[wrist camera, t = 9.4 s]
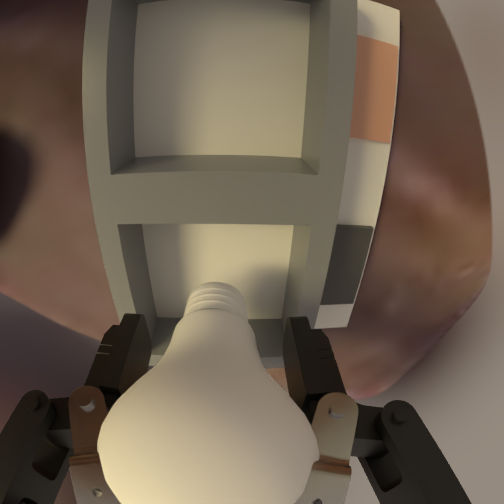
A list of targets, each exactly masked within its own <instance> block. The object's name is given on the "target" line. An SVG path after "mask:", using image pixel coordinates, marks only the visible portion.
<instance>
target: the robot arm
mask: <svg viewBox="0 0 504 504" xmlns="http://www.w3.org/2000/svg"><path fill="white" fill-rule="evenodd" d="M282 350H283V361H284V367H285V373H286V379H287V385H288V391H289V396H290V397H291V398H292V400H293V401H294V402H295V403H296V404H297V406H298V407H299V408H300V409H301V410H302V412H303V413H304V414H305V415H306V417H307V419H308V421H309V423H310V425H311V428H312V430H313V432H314V434H315V436H316V439H317V444H318V450H319V455H320V456H319V460H318V461H315V462H314V463H313V465H312V468H311V472H310V475H309V478H308V481H307V484H306V486H305V489H304V492H303V493H302V495H301V496H300V497H299V498H298V500H297V501H296V502H295V503H294V504H311V503H313V504H344V502H345V498H346V494H347V490H348V486H349V482H350V478H351V467H350V466H349V460H350V456H356V457H358V459H359V461H360V463H361V465H362V467H363V469H364V471H365V473H366V475H367V477H368V479H369V482H370V484H371V486H372V487H373V490H374V492H375V494H376V496H377V498H378V500H379V502H380V504H471V502H470V500H469V498H468V497H467V495H466V493H465V491H464V490H463V488H462V486H461V484H460V482H459V481H458V479H457V477H456V476H455V474H454V472H453V470H452V469H451V467H450V465H449V464H448V462H447V460H446V459H445V457H444V455H443V454H442V452H441V450H440V449H439V447H438V445H437V444H436V442H435V441H434V439H433V438H432V436H431V434H430V433H429V431H428V429H427V428H426V426H425V425H424V423H423V421H422V420H421V418H420V417H419V415H418V414H417V412H416V410H415V409H414V408H413V406H411V405H410V404H409V403H407V402H405V401H401V400H394V401H391V402H389V403H387V404H386V405H385V406H384V408H381V407H372V406H365V405H361V404H358V403H356V402H355V401H354V399H353V398H351V397H350V396H348V395H347V393H346V391H345V388H344V385H343V382H342V379H341V376H340V372H339V369H338V366H337V363H336V360H335V359H334V354H333V351H332V348H331V345H330V342H329V339H328V337H327V336H326V335H325V334H324V333H323V332H322V330H321V329H311V327H310V324H309V320H308V318H307V316H298V317H287V321H286V327H285V333H284V339H283V349H282ZM151 352H152V344H151V339H150V335H149V331H148V327H147V323H146V319H145V316H144V315H143V314H133V313H125V314H124V316H123V318H122V320H121V323H120V325H113V326H112V327H111V328H110V329H109V330H108V331H107V332H106V333H105V334H104V337H103V339H102V341H101V346H99V349H98V351H97V354H96V356H95V359H94V362H93V364H92V367H91V370H90V372H89V375H88V378H87V380H86V383H85V385H84V386H82V387H80V388H77V389H76V390H75V391H74V392H73V393H72V394H71V396H70V397H67V398H55V399H49V398H48V397H47V396H46V394H45V393H44V392H42V391H39V390H33V391H29V392H27V393H26V394H25V395H24V396H23V397H22V399H21V400H20V402H19V403H18V405H17V407H16V408H15V410H14V412H13V413H12V415H11V416H10V418H9V420H8V422H7V423H6V425H5V427H4V428H3V430H2V432H1V434H0V504H54V501H55V499H56V497H57V494H58V492H59V489H60V487H61V485H62V482H63V480H64V478H65V476H66V473H67V471H68V469H69V468H70V473H71V478H72V483H73V488H74V492H75V497H76V501H77V504H121V503H120V502H119V500H118V499H117V497H116V496H115V494H114V493H113V491H112V490H111V488H110V487H109V485H108V484H107V482H106V480H105V477H104V473H103V469H102V465H101V461H100V456H99V453H98V452H97V441H98V437H99V433H100V429H101V426H102V423H103V422H104V420H105V418H106V417H107V415H108V413H109V411H110V410H111V408H112V406H113V405H114V404H115V402H116V401H117V400H118V399H119V398H120V397H121V396H122V395H123V394H124V393H125V392H126V391H127V390H128V389H129V388H130V387H131V386H132V385H133V384H134V383H135V382H136V381H137V380H138V379H140V378H141V377H142V376H143V375H145V374H146V373H147V370H148V366H149V362H150V358H151Z"/></svg>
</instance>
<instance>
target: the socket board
mask: <svg viewBox="0 0 504 504" xmlns="http://www.w3.org/2000/svg"><path fill="white" fill-rule="evenodd" d="M399 40H400V16H399V10H397V9H394V8H391V7H388V6H385V5H382V4H379V3H376V2H373V1H370V0H88V7H87V15H86V24H85V34H84V47H83V69H82V106H83V129H84V143H85V154H86V164H87V173H88V181H89V188H90V195H91V202H92V208H93V214H94V219H95V225H96V230H97V235H98V240H99V245H100V249H101V254H102V258H103V262H104V266H105V270H106V274H107V278H108V282H109V286H110V290H111V293H112V297H113V300H114V304H115V307H116V310H117V314H118V317H119V320H120V323H121V320H122V318H123V316H124V314H125V313H133V314H143V315H144V316H145V319H146V323H147V327H148V331H149V335H150V339H151V344H152V352H151V358H150V362H149V365H150V366H156V365H157V363H158V362H159V361H160V360H161V358H162V357H163V356H164V354H165V352H166V350H167V348H168V346H169V344H170V342H171V339H172V336H173V332H174V330H175V327H176V325H177V324H178V322H179V321H180V320H181V319H182V318H183V315H184V313H185V308H186V306H187V301H188V299H189V297H190V294H191V293H192V291H193V290H194V289H195V288H197V287H198V286H200V285H202V284H205V283H209V282H222V283H226V284H229V285H231V286H233V287H235V288H236V289H237V290H239V291H240V293H241V294H242V295H243V297H244V299H245V304H246V309H247V316H248V323H249V324H250V326H251V328H252V330H253V331H254V334H255V338H256V344H257V349H258V352H259V355H260V358H261V361H262V364H263V365H264V367H265V368H285V367H284V361H283V350H282V349H283V339H284V333H285V327H286V321H287V317H298V316H307V318H308V320H309V324H310V327H311V329H320V328H337V327H347V324H348V321H349V318H350V315H351V312H352V309H353V306H354V303H355V300H356V296H357V293H358V290H359V286H360V283H361V280H362V276H363V273H364V269H365V265H366V262H367V258H368V254H369V250H370V246H371V242H372V238H373V234H374V230H375V226H376V221H377V217H378V212H379V208H380V203H381V198H382V193H383V188H384V183H385V177H386V171H387V166H388V160H389V153H390V147H391V140H392V132H393V124H394V116H395V106H396V96H397V84H398V68H399Z"/></svg>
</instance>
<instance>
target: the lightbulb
mask: <svg viewBox="0 0 504 504" xmlns="http://www.w3.org/2000/svg"><path fill="white" fill-rule="evenodd" d="M97 452H98V453H99V456H100V461H101V465H102V469H103V473H104V477H105V480H106V482H107V484H108V485H109V487H110V488H111V490H112V491H113V493H114V494H115V496H116V497H117V499H118V500H119V502H120V503H121V504H294V503H295V502H296V501H297V500H298V498H299V497H300V496H301V495H302V493H303V492H304V489H305V486H306V484H307V481H308V478H309V475H310V472H311V468H312V465H313V463H314V462H315V461H318V460H319V456H320V455H319V450H318V444H317V439H316V436H315V434H314V432H313V430H312V428H311V425H310V423H309V421H308V419H307V417H306V415H305V414H304V413H303V412H302V410H301V409H300V408H299V407H298V406H297V404H296V403H295V402H294V401H293V400H292V398H291V397H290V396H289V395H288V394H287V392H286V391H285V390H284V389H283V388H282V387H281V386H280V385H279V384H278V383H277V382H276V381H275V380H274V379H273V378H272V377H271V376H270V375H269V373H268V372H267V370H266V368H265V367H264V365H263V364H262V361H261V358H260V355H259V352H258V349H257V344H256V338H255V334H254V331H253V330H252V328H251V326H250V324H249V323H248V316H247V309H246V304H245V299H244V297H243V295H242V294H241V293H240V291H239V290H237V289H236V288H235V287H233V286H231V285H229V284H226V283H222V282H209V283H205V284H202V285H200V286H198V287H197V288H195V289H194V290H193V291H192V293H191V294H190V297H189V299H188V301H187V306H186V308H185V313H184V315H183V318H182V319H181V320H180V321H179V322H178V324H177V325H176V327H175V330H174V332H173V336H172V339H171V342H170V344H169V346H168V348H167V350H166V352H165V354H164V356H163V357H162V358H161V360H160V361H159V362H158V363H157V365H156V366H155V367H153V368H152V369H151V370H150V371H148V372H147V373H146V374H145V375H143V376H142V377H141V378H140V379H138V380H137V381H136V382H135V383H134V384H133V385H132V386H131V387H130V388H129V389H128V390H127V391H126V392H125V393H124V394H123V395H122V396H121V397H120V398H119V399H118V400H117V401H116V402H115V404H114V405H113V406H112V408H111V410H110V411H109V413H108V415H107V417H106V418H105V420H104V422H103V423H102V426H101V429H100V433H99V437H98V441H97ZM311 504H313V503H311Z"/></svg>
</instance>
